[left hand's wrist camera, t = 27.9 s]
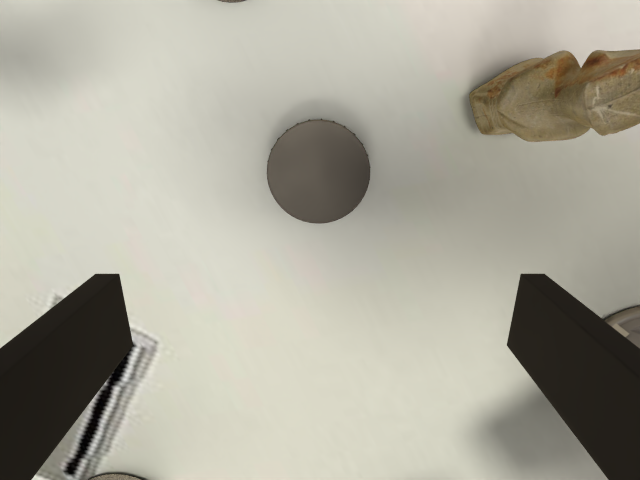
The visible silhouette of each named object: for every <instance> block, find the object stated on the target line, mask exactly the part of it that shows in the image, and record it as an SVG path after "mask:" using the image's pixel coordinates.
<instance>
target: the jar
mask: <svg viewBox="0 0 640 480" xmlns="http://www.w3.org/2000/svg"><path fill="white" fill-rule="evenodd" d="M219 1H222V2H241V1H245V0H219Z"/></svg>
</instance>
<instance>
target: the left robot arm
mask: <svg viewBox="0 0 640 480" xmlns="http://www.w3.org/2000/svg"><path fill="white" fill-rule="evenodd" d="M132 346H133V342H132V337H131V332H130V327H129V322H128V317H127V312H126V306H125V301H124V296H123V291H122V286H121V281H120V276H119V274H95V275H94V276H92V277H91V278H90V279H88V280H87V281H86V282H85V283H83V284H82V285H81V286H80V287H78V288H77V289H76V290H74V291H73V292H72V293H71V294H69V295H68V296H67V297H65V298H64V299H63V300H62V301H60V302H59V303H58V304H57V305H55V306H54V307H53V308H51V309H50V310H49V311H48V312H46V313H45V314H44V315H42V316H41V317H40V318H39V319H37V320H36V321H35V322H33V323H32V324H31V325H30V326H28V327H27V328H26V329H25V330H23V331H22V332H21V333H19V334H18V335H17V336H16V337H14V338H13V339H12V340H10V341H9V342H8V343H7V344H5V345H4V346H3V347H2V348H0V480H31V479H32V478H33V477H34V475H35V474H36V473H37V472H38V470H39V469H40V468H41V466H42V465H43V464H44V462H45V461H46V460H47V458H48V457H49V456H50V454H51V453H52V452H53V450H54V449H55V448H56V446H57V445H58V444H59V442H60V441H61V440H62V439H63V437H64V436H65V435H66V433H67V432H68V431H69V429H70V428H71V427H72V425H73V424H74V423H75V421H76V420H77V419H78V417H79V416H80V415H81V413H82V412H83V411H84V409H85V408H86V407H87V406H88V404H89V403H90V402H91V400H92V399H93V398H94V396H95V395H96V394H97V392H98V391H99V390H100V388H101V387H102V386H103V384H104V383H105V382H106V380H107V379H108V378H109V376H110V375H111V374H112V372H113V371H114V370H115V369H116V367H117V366H118V365H119V363H120V362H121V361H122V359H123V358H124V357H125V355H126V354H127V353H128V351H129V350H130V349H131V347H132ZM507 346H508V347H509V349H510V350H511V351H512V353H513V354H514V355H515V357H516V358H517V359H518V361H519V362H520V363H521V365H522V366H523V367H524V369H525V370H526V371H527V372H528V374H529V375H530V376H531V378H532V379H533V380H534V382H535V383H536V384H537V386H538V387H539V388H540V390H541V391H542V392H543V394H544V395H545V396H546V398H547V399H548V400H549V402H550V403H551V404H552V406H553V407H554V408H555V409H556V411H557V412H558V413H559V415H560V416H561V417H562V419H563V420H564V421H565V423H566V424H567V425H568V427H569V428H570V429H571V431H572V432H573V433H574V435H575V436H576V437H577V439H578V440H579V441H580V442H581V444H582V445H583V446H584V448H585V449H586V450H587V452H588V453H589V454H590V456H591V457H592V458H593V460H594V461H595V462H596V464H597V465H598V466H599V468H600V469H601V470H602V472H603V473H604V474H605V475H606V477H607V478H608V479H609V480H640V306H639V307H634V308H631V309H627V310H624V311H622V312H619V313H617V314H615V315H613V316H611V317H609V318H607V319H605V320H603V319H601V318H600V317H599V316H598V315H596V314H595V313H594V312H592V311H591V310H590V309H589V308H587V307H586V306H585V305H583V304H582V303H581V302H580V301H578V300H577V299H576V298H575V297H573V296H572V295H571V294H569V293H568V292H567V291H566V290H564V289H563V288H562V287H560V286H559V285H558V284H557V283H555V282H554V281H553V280H552V279H550V278H549V277H548V276H546V275H545V274H521V276H520V281H519V286H518V291H517V296H516V301H515V306H514V312H513V317H512V322H511V327H510V332H509V337H508V342H507Z"/></svg>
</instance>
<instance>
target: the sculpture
mask: <svg viewBox="0 0 640 480" xmlns="http://www.w3.org/2000/svg"><path fill="white" fill-rule="evenodd" d="M469 98H470V103H471V107H472V109H473V113H474V117H475V121H476V124H477V126H478V128H479V130H480V132H481V133H482V134H485V135H499V134H508V133H514V134H516V135H517V136H519V137H520V138H522V139H524V140H526V141H530V142H540V141H556V140H568V139H573V138H576V137H579V136H581V135H583V134H584V133H586V132H587V131H588V130H589V129H590V128H593V129H594V130H595V131H596V132H597V133H599V134H600V135H602V136H605V135H607V134H613V133H617V132H619V131H623V130H625V129H628V128H630V127H633V126H635V125H637V124H639V123H640V50H625V51H602V50H596V51H594V52H592V53H591V54H590V55H589V57H588V58H587V60H586V61H585V63H584V65H583V66H582V68H580V66H579V64H578V62H577V60H576V58H575V57H574V55H573V54H572V53H570V52H568V51H559V52H557V53H555V54H553V55H551V56H549V57H547V58H545V59H542V58H534V59H530V60H527V61H524V62H521V63H519V64H517V65H515V66H513V67H511V68H509V69H508V70H506V71H504V72H503V73H501V74H500V75H498V76H497V77H495V78H494V79H492V80H491V81H489V82H487V83H486V84H484V85H482V86H480V87H479V88H477V89H475V90H474V91H472V92H471V93H470V95H469Z"/></svg>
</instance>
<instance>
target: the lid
mask: <svg viewBox="0 0 640 480" xmlns="http://www.w3.org/2000/svg"><path fill="white" fill-rule="evenodd" d="M277 140H278V141H277V142H276V144H275V145H274V147H273V148H272V149H271V153H270V156H269V160H268V165H267V179H268V184H269V187H270V190H271V193H272V195H273V197H274V199H275V200H276V202H277V203H278V204H279V205H280V206H281V208H282V209H284V210H285V211H286V212H287V213H288V214H290V215H291V216H293V217H295V218H297V219H299V220H302V221H305V222H309V223H328V222H332V221H335V220H338V219H340V218H342V217H344V216H346V215H347V214H349V213H350V212H351V211H353V210H354V209H355V208H356V207H357V205H358V204H359V203H360V202H361V200H362V198H363V197H364V195H365V193H366V191H367V187H368V184H369V180H370V179H369V178H370V166H369V160H368V155H367V154H366V151H365V149H364V147H363V144H362V143H361V142H360V141H359V140H358V138H357V137H356V136H355V134H354V133H352V132H351V131H349V130H348V129H347V128H346V127H345V126H344V127H343V126H342V125H340V124H337V123H335V122H334V121H333V122H332V121H328V120H322V119H321V120H308V121H305V122H302V123H299V124H298V123H297V125H295V126H293V127H292V128H290V129H289V130H288V129H287V130H286V132H285V133H284V134H283V135H282V136H281V137H280V138H278V139H277Z"/></svg>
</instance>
